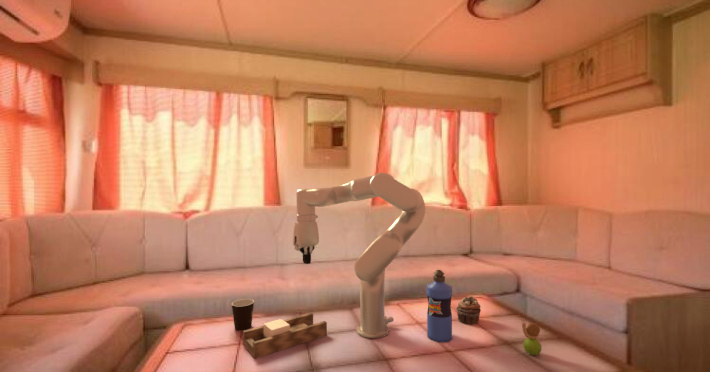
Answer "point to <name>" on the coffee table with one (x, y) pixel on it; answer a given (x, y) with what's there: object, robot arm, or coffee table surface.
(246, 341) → the box
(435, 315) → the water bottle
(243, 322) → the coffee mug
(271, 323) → the cream block
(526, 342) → the snail figurine
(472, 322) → the cupcake
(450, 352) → the coffee table surface
